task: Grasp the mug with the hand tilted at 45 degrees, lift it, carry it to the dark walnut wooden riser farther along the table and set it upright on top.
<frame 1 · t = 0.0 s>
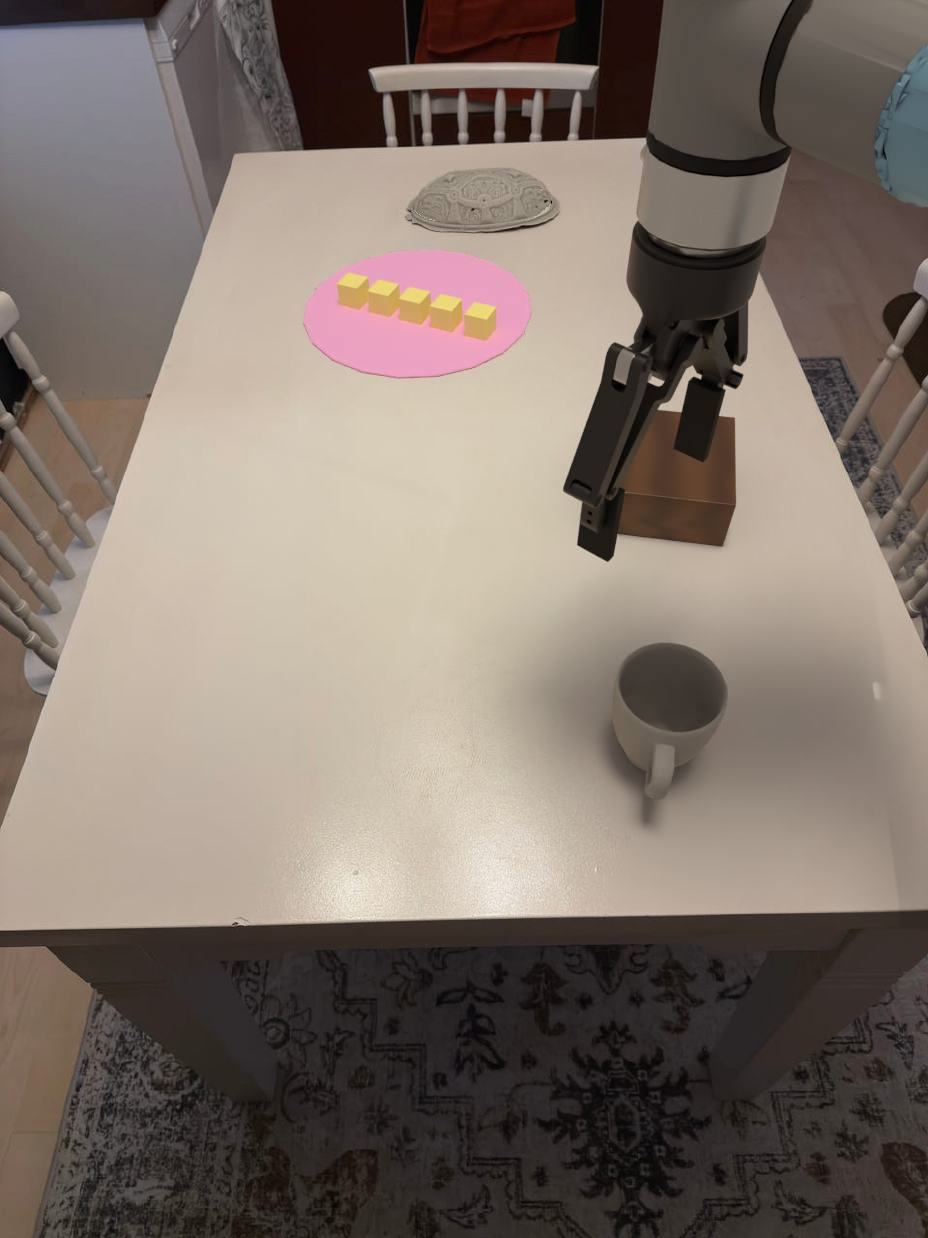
hand: (645, 499, 64), 20 cm above the table, tool pointing down, fingers open, 13 cm apart
mug: (651, 763, 73), on the table
platter: (417, 310, 117), on the table
riser: (658, 493, 93), on the table
grey domed piece: (483, 210, 135), on the table
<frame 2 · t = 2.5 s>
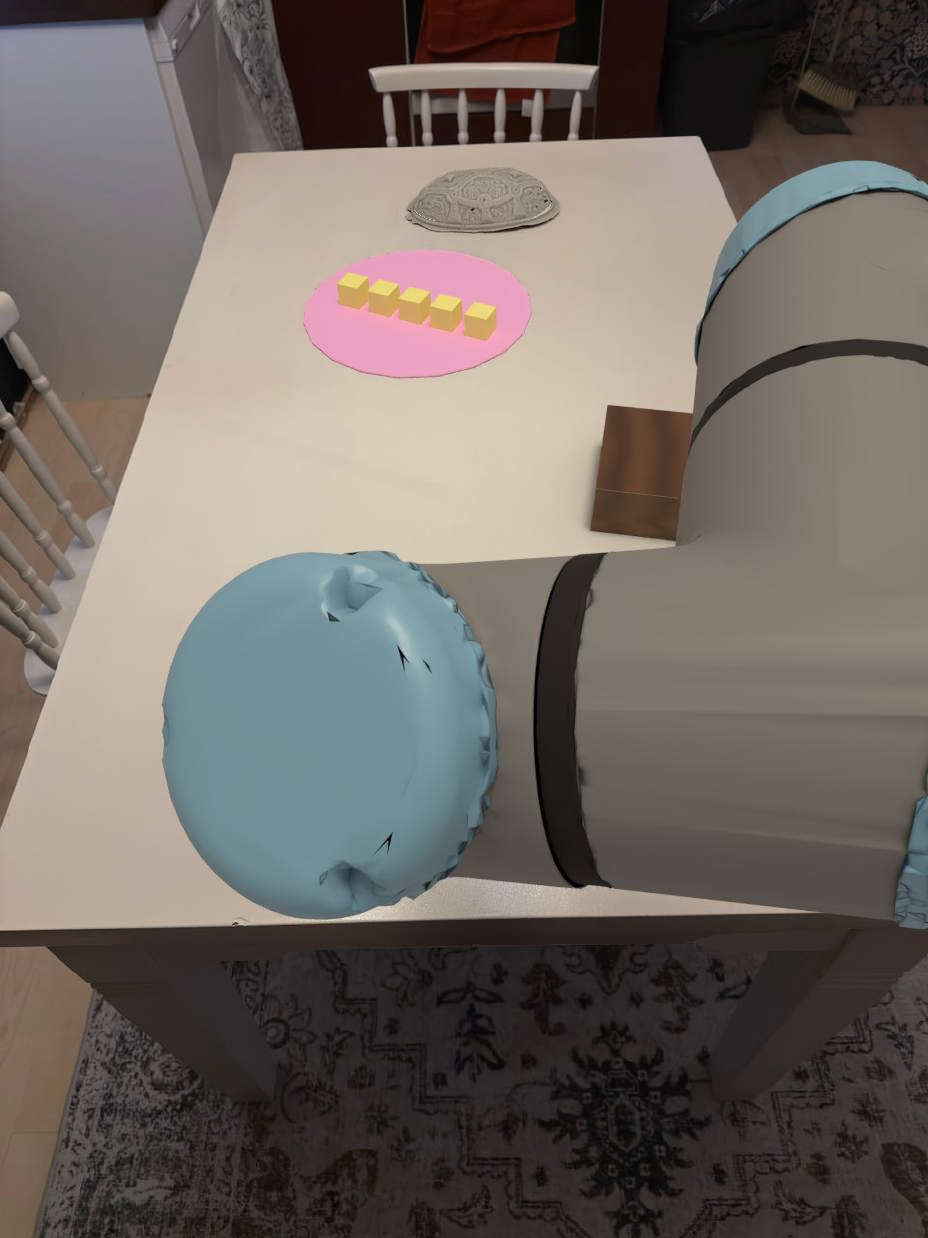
hand: (652, 674, 49), 24 cm above the table, tool tilted 40°, fingers open, 13 cm apart
nothing on the table moved.
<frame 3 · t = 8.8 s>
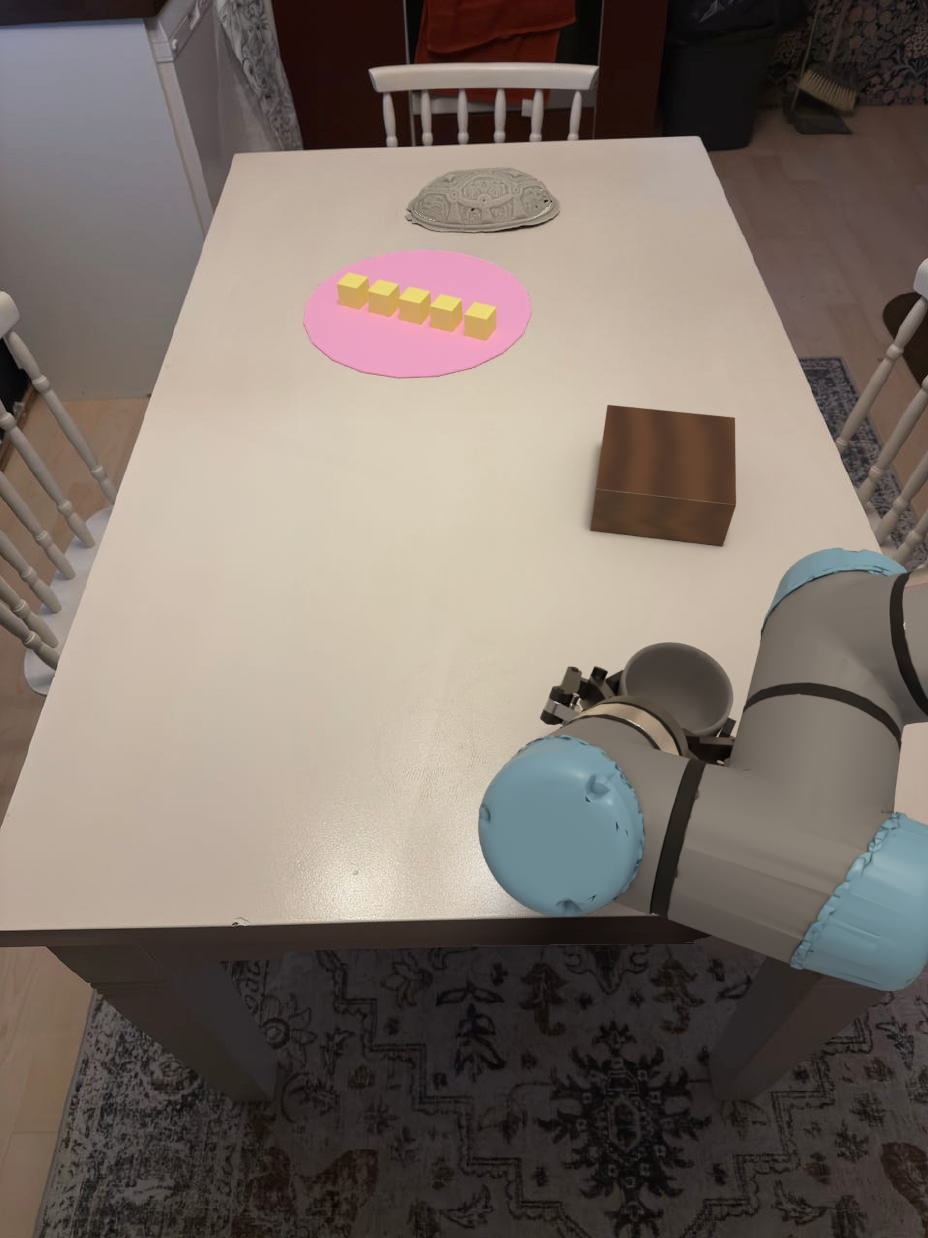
hand: (671, 709, 71), 4 cm above the table, tool tilted 45°, fingers closed on mug, 9 cm apart
mug: (651, 762, 72), on the table, touching gripper
everything else where it was.
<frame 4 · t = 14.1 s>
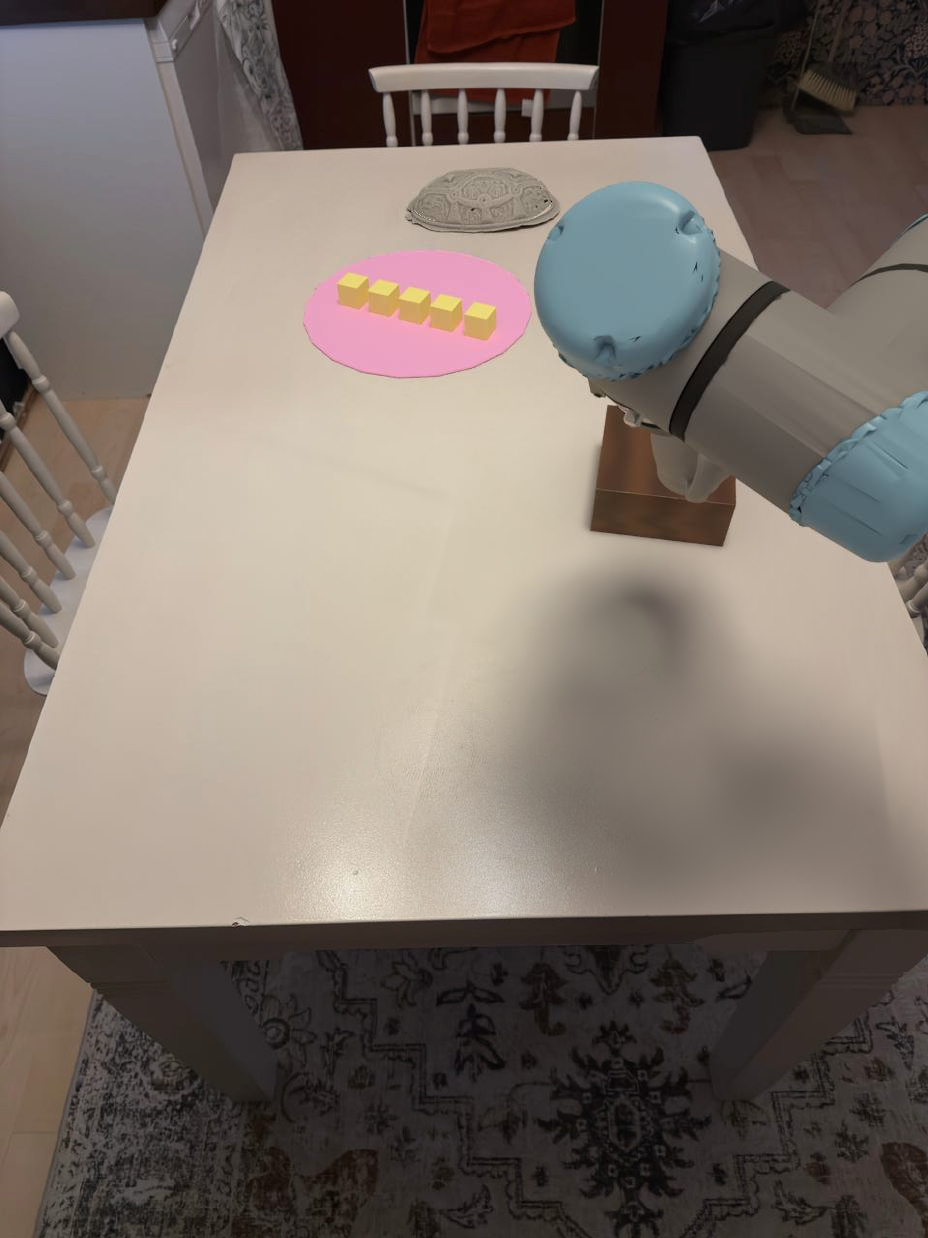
hand: (708, 427, 68), 21 cm above the table, tool tilted 45°, fingers closed on mug, 9 cm apart
mug: (687, 489, 69), point 17 cm above the table, touching gripper
everything else where it was.
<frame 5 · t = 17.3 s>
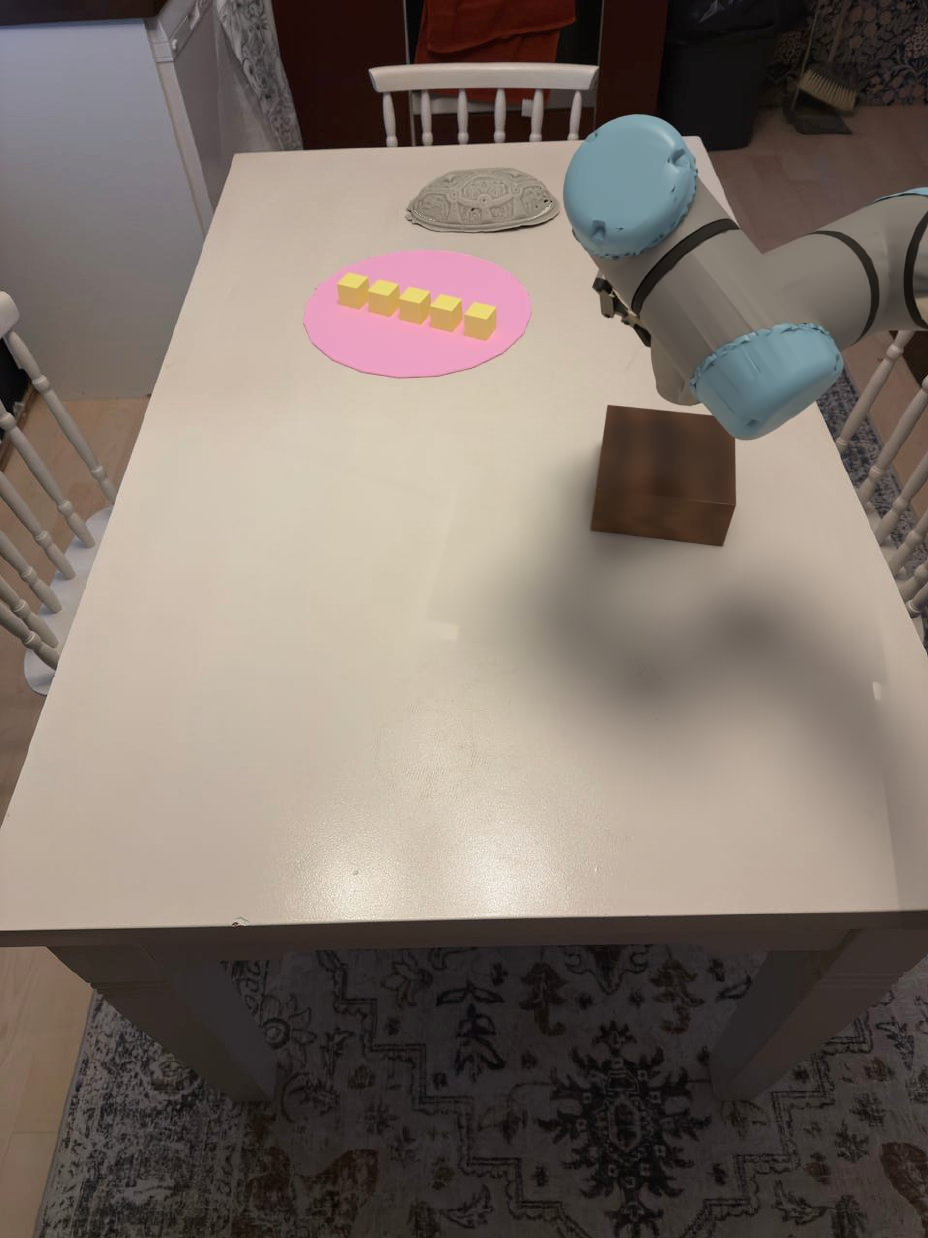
hand: (699, 347, 82), 17 cm above the table, tool tilted 45°, fingers closed on mug, 9 cm apart
mug: (681, 400, 83), point 13 cm above the table, touching gripper
everything else where it was.
when the fingers open (10 cm above the table, at t = 19.7 s): mug stays where it is, resting on riser.
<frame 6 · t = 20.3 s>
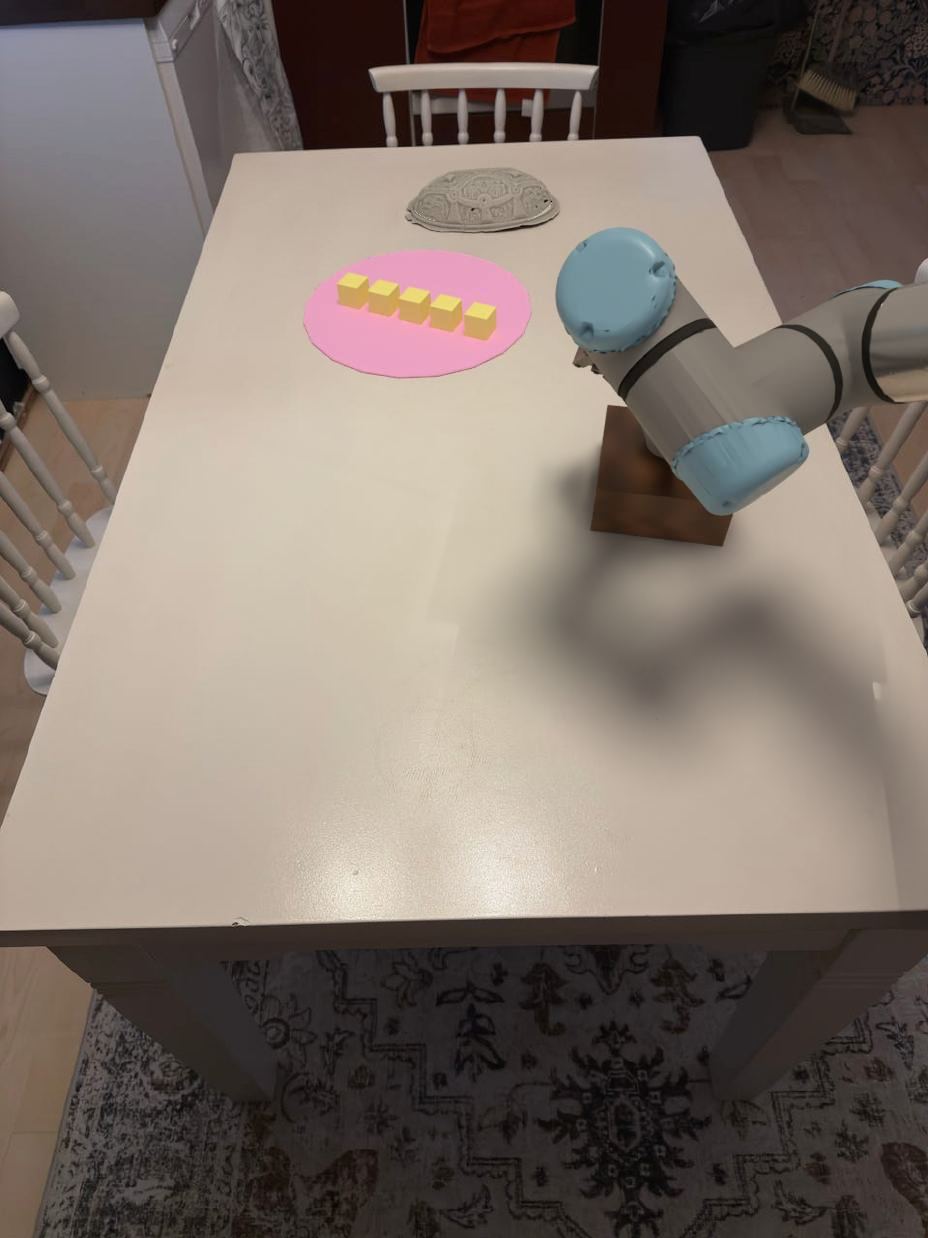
hand: (685, 399, 85), 11 cm above the table, tool tilted 45°, fingers open, 13 cm apart
mug: (669, 454, 88), point 6 cm above the table, touching riser
everything else where it was.
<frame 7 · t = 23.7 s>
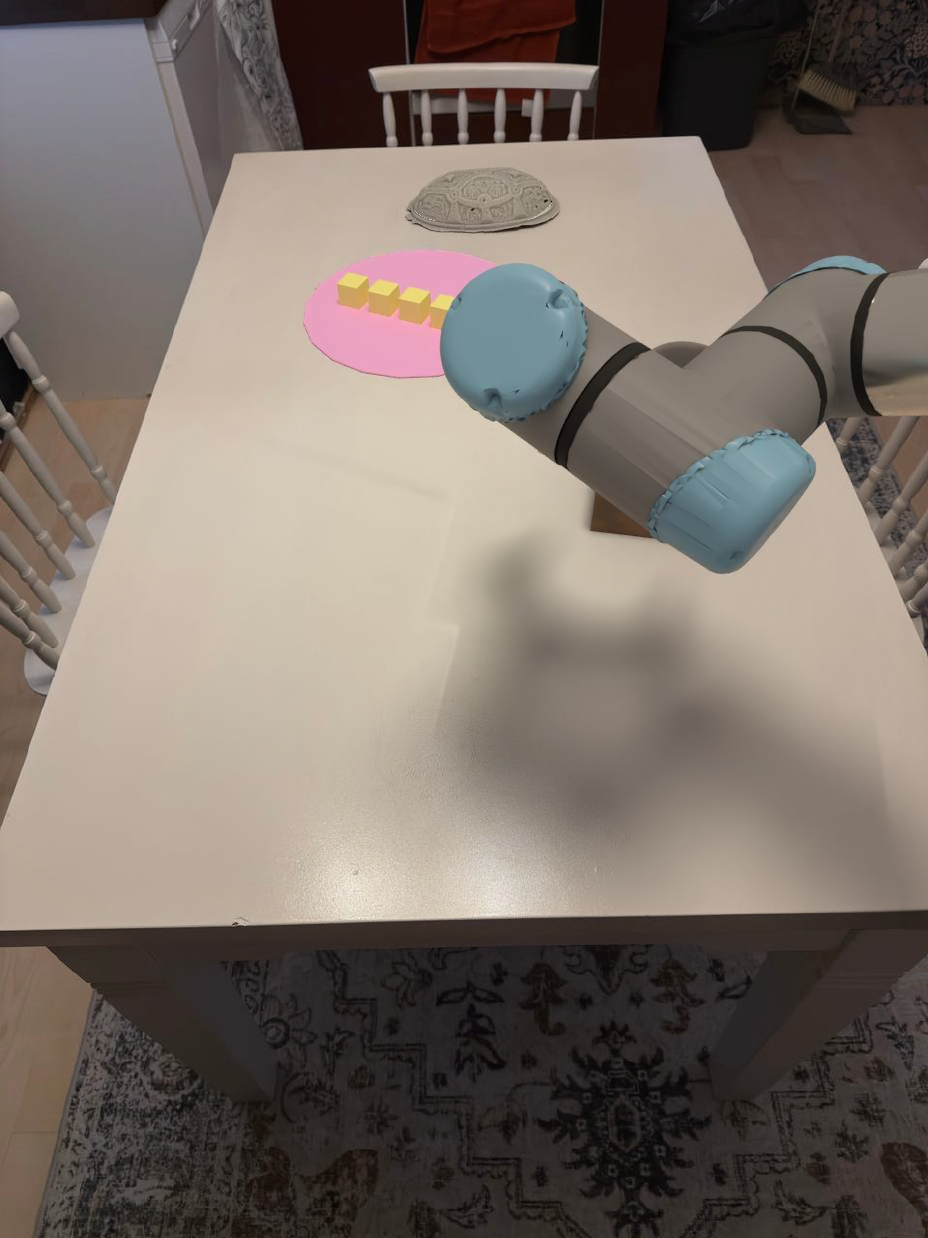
hand: (640, 445, 74), 16 cm above the table, tool tilted 45°, fingers open, 13 cm apart
nothing on the table moved.
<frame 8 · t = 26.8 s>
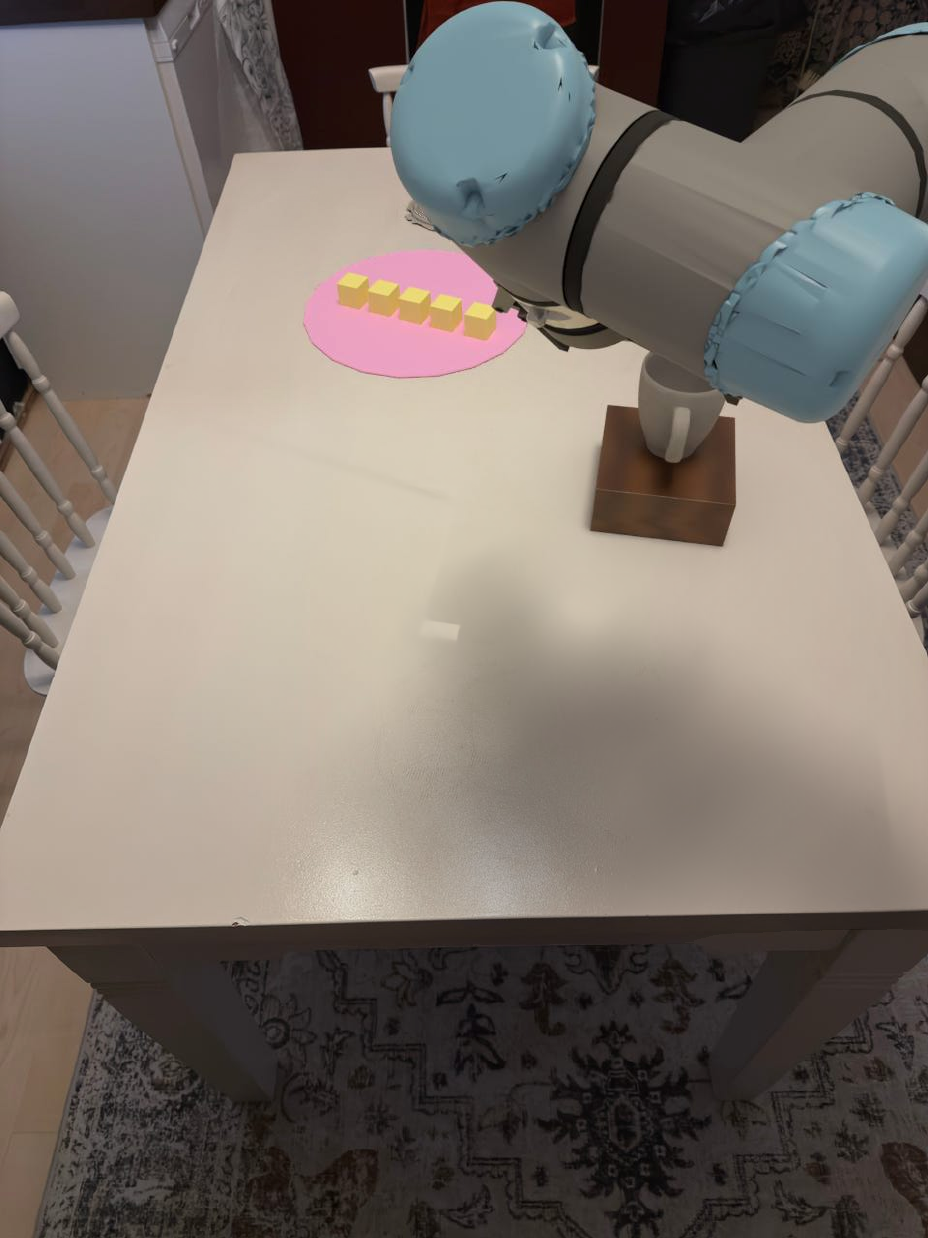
hand: (651, 359, 62), 28 cm above the table, tool tilted 45°, fingers open, 13 cm apart
nothing on the table moved.
at the end: mug inside the target area on the riser (0.3 cm from its centre), point 5.8 cm above the riser's base; mug tilted 0°; the gripper is holding nothing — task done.
